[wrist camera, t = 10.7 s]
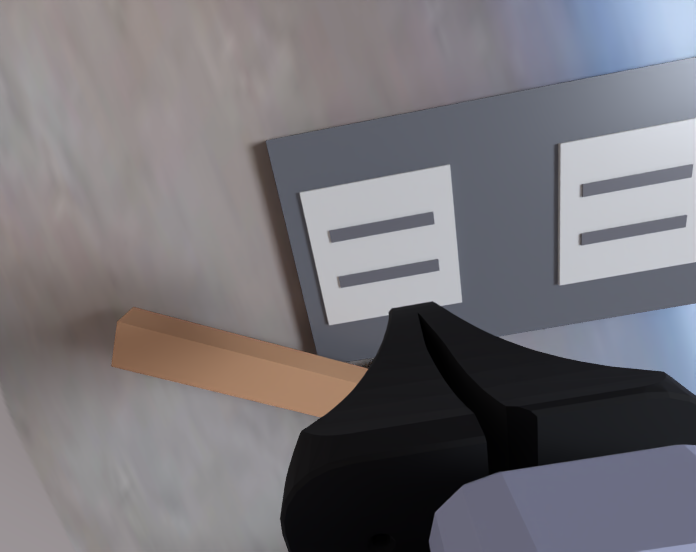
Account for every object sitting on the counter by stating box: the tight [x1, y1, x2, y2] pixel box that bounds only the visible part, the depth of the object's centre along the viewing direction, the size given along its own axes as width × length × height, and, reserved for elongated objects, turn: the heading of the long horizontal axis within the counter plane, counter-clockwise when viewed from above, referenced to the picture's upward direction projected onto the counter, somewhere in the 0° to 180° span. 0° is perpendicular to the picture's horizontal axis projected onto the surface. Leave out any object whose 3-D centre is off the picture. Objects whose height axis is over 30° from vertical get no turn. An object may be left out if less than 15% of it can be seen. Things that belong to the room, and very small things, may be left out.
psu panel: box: [266, 57, 696, 362], centre depth 20 cm, size 12×21×1 cm, turn 100°
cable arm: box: [111, 307, 368, 417], centre depth 20 cm, size 16×3×2 cm, turn 72°
